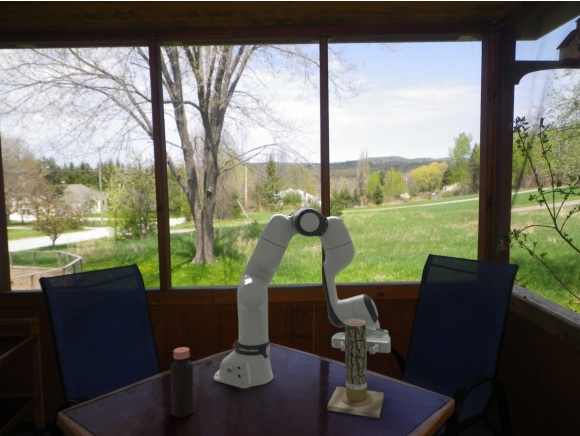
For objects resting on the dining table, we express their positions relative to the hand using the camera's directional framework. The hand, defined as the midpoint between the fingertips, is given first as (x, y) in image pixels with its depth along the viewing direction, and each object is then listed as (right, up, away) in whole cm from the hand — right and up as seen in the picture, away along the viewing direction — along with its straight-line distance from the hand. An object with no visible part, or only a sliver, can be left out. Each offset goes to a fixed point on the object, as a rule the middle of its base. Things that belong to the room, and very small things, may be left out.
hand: (357, 350), depth 131 cm
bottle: (-56, -18, -6) cm, 59 cm away
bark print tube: (-1, -15, -2) cm, 15 cm away
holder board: (-1, -17, -2) cm, 17 cm away
